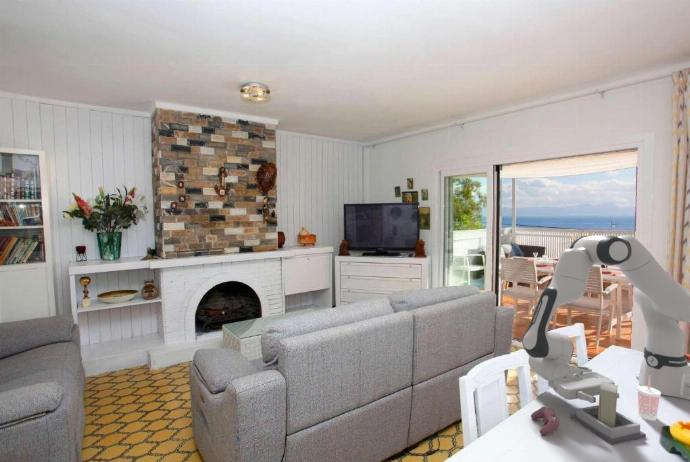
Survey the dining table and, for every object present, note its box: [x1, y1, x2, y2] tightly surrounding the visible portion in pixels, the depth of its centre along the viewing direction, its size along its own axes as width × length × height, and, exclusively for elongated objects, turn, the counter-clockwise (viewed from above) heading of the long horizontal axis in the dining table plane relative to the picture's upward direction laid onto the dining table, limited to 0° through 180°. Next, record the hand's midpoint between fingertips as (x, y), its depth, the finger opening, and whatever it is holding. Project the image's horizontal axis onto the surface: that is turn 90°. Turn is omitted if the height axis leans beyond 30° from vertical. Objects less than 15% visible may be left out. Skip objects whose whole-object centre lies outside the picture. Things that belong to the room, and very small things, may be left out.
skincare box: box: [598, 382, 619, 428], centre depth 115 cm, size 6×4×12 cm
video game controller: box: [530, 405, 561, 436], centre depth 115 cm, size 10×5×7 cm, turn 170°
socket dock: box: [570, 404, 647, 445], centre depth 115 cm, size 13×14×4 cm
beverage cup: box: [636, 375, 662, 421], centre depth 121 cm, size 6×6×14 cm
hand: (606, 398), depth 115 cm, fingers open, 8 cm apart
